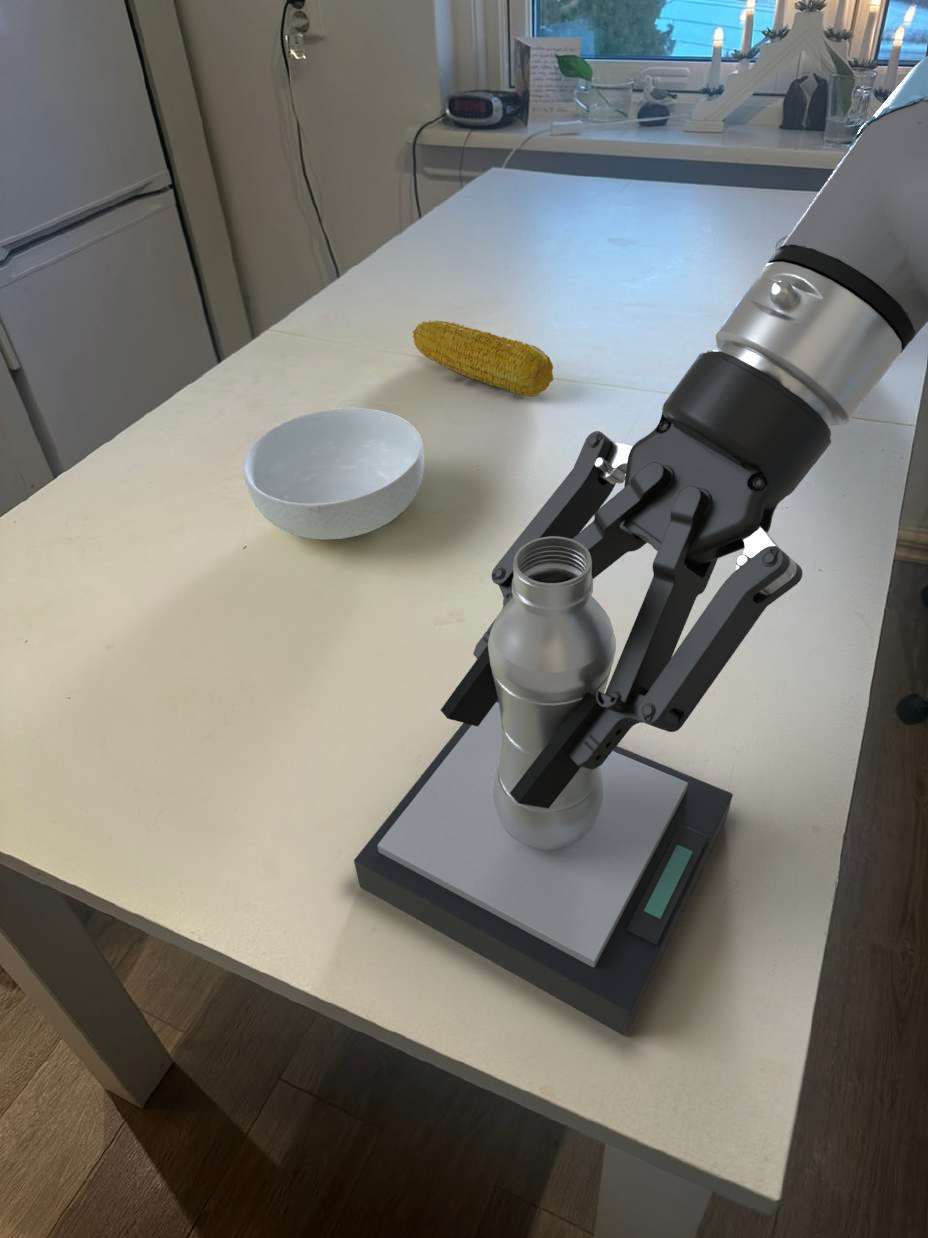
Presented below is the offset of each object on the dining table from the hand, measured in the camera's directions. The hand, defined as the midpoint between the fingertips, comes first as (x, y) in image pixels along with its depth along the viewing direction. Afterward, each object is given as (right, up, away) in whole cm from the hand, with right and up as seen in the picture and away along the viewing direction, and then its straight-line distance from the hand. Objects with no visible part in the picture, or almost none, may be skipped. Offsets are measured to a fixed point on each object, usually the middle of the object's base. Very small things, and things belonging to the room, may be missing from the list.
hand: (493, 757), depth 46 cm
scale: (+4, -8, +9) cm, 13 cm away
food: (0, +37, +59) cm, 69 cm away
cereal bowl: (-13, +18, +39) cm, 45 cm away
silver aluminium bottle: (+4, -5, +7) cm, 9 cm away
